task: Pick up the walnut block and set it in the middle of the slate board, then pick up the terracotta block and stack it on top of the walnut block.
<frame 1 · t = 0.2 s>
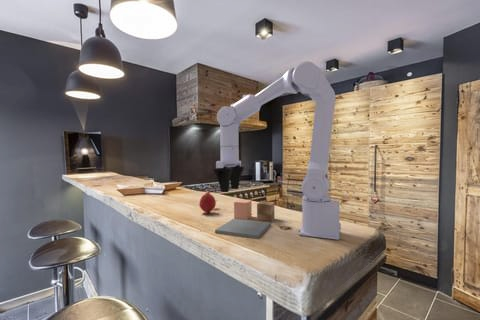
hand: (230, 190, 71), 10 cm above the counter, tool pointing down, fingers open, 7 cm apart
onion: (207, 213, 82), on the counter
walnut block: (265, 219, 73), on the counter
terracotta block: (242, 217, 76), on the counter
slate board: (244, 228, 63), on the counter
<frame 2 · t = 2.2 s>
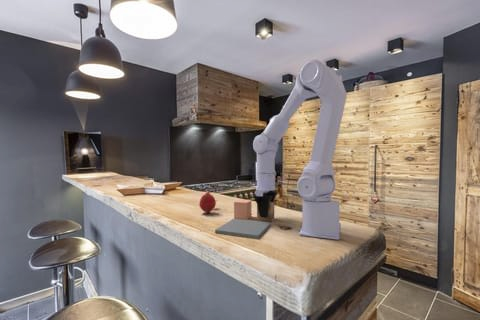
hand: (265, 215, 73), 1 cm above the counter, tool pointing down, fingers closed on walnut block, 4 cm apart
walnut block: (265, 219, 73), on the counter, touching gripper
everything else where it was.
when the fingers open (3 cm above the counter, at t = 5.4 s): walnut block stays where it is, resting on slate board.
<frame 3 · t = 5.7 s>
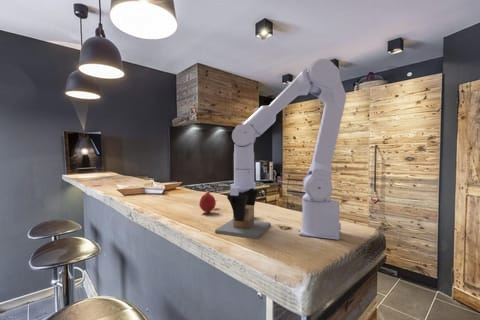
hand: (244, 217, 63), 3 cm above the counter, tool pointing down, fingers open, 7 cm apart
walnut block: (243, 226, 63), point 1 cm above the counter, touching slate board
everything else where it was.
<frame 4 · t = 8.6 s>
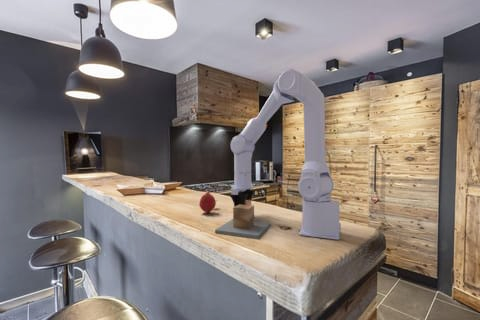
hand: (242, 213, 76), 1 cm above the counter, tool pointing down, fingers closed on terracotta block, 4 cm apart
terracotta block: (242, 217, 76), on the counter, touching gripper
everything else where it was.
when the fingers open (9 cm above the counter, at t = 11.4 s): terracotta block stays where it is, resting on walnut block.
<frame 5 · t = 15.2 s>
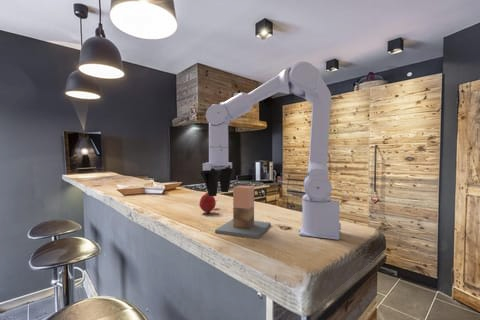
hand: (218, 193, 66), 9 cm above the counter, tool pointing down, fingers open, 7 cm apart
walnut block: (243, 226, 63), point 1 cm above the counter, touching slate board, terracotta block
terracotta block: (243, 206, 63), point 6 cm above the counter, touching walnut block
everything else where it was.
at the end: walnut block inside the target area on the slate board (0.1 cm from its centre), point 0.8 cm above the slate board's base; terracotta block 0.1 cm off-centre on the walnut block, point 5.5 cm above the walnut block's base; terracotta block tilted 0° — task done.
